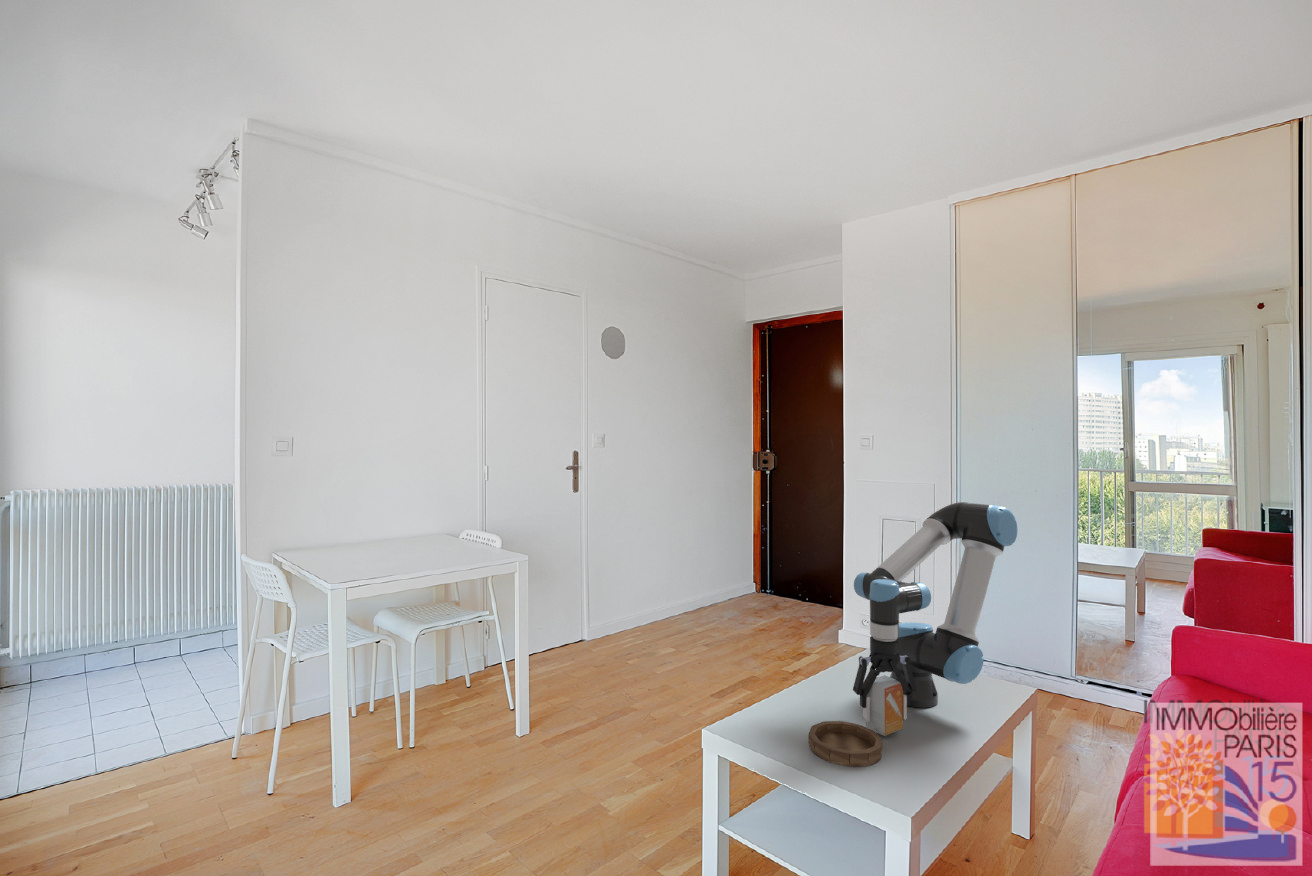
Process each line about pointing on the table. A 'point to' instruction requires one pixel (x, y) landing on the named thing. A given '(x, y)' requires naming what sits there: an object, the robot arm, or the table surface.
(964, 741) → the table surface
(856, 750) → the walnut bowl
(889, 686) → the small box
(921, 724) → the table surface
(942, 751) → the table surface
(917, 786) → the table surface
